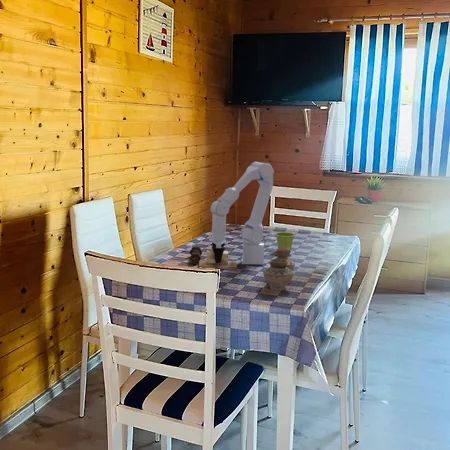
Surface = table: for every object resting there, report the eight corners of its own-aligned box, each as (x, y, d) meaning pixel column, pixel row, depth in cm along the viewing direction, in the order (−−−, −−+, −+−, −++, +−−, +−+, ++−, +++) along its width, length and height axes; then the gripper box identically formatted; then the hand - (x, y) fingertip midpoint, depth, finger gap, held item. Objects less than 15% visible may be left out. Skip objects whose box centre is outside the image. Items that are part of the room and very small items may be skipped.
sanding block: (227, 262, 236) (227, 250, 235) (227, 265, 231) (228, 253, 230) (206, 261, 235) (206, 250, 235) (206, 264, 231) (206, 253, 230)
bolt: (193, 269, 234) (194, 259, 248) (203, 264, 233) (204, 254, 248) (186, 257, 233) (188, 248, 247) (196, 252, 232) (197, 243, 247)
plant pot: (293, 254, 258) (294, 236, 257) (273, 253, 260) (274, 235, 259) (294, 250, 267) (295, 232, 266) (275, 248, 269) (276, 231, 268)
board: (235, 263, 239) (236, 261, 238) (237, 269, 229) (237, 266, 228) (199, 262, 238) (199, 260, 238) (198, 268, 228) (198, 265, 228)
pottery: (296, 276, 221) (297, 247, 219) (291, 294, 197) (293, 262, 195) (268, 274, 223) (269, 245, 221) (260, 291, 199) (262, 259, 197)
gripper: (209, 226, 238) (208, 256, 240) (209, 232, 223) (208, 265, 226) (225, 226, 238) (224, 257, 240) (226, 233, 224) (225, 265, 226)
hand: (217, 260), depth 233 cm, fingers open, 6 cm apart
